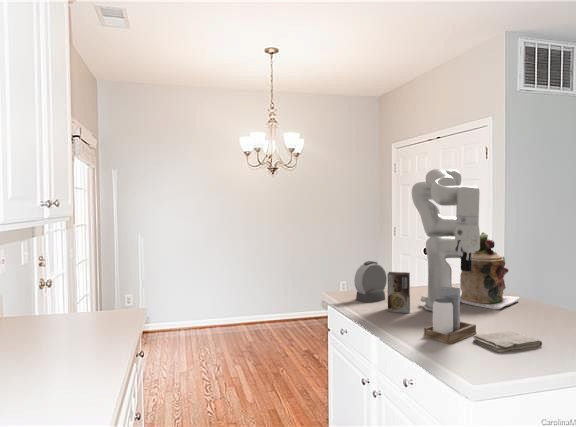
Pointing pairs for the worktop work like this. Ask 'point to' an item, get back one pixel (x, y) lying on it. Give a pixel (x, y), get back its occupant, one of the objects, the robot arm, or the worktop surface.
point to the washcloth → (506, 341)
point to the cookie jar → (485, 278)
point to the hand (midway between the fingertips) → (465, 270)
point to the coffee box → (398, 292)
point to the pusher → (454, 296)
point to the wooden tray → (453, 337)
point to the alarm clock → (370, 282)
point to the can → (443, 316)
